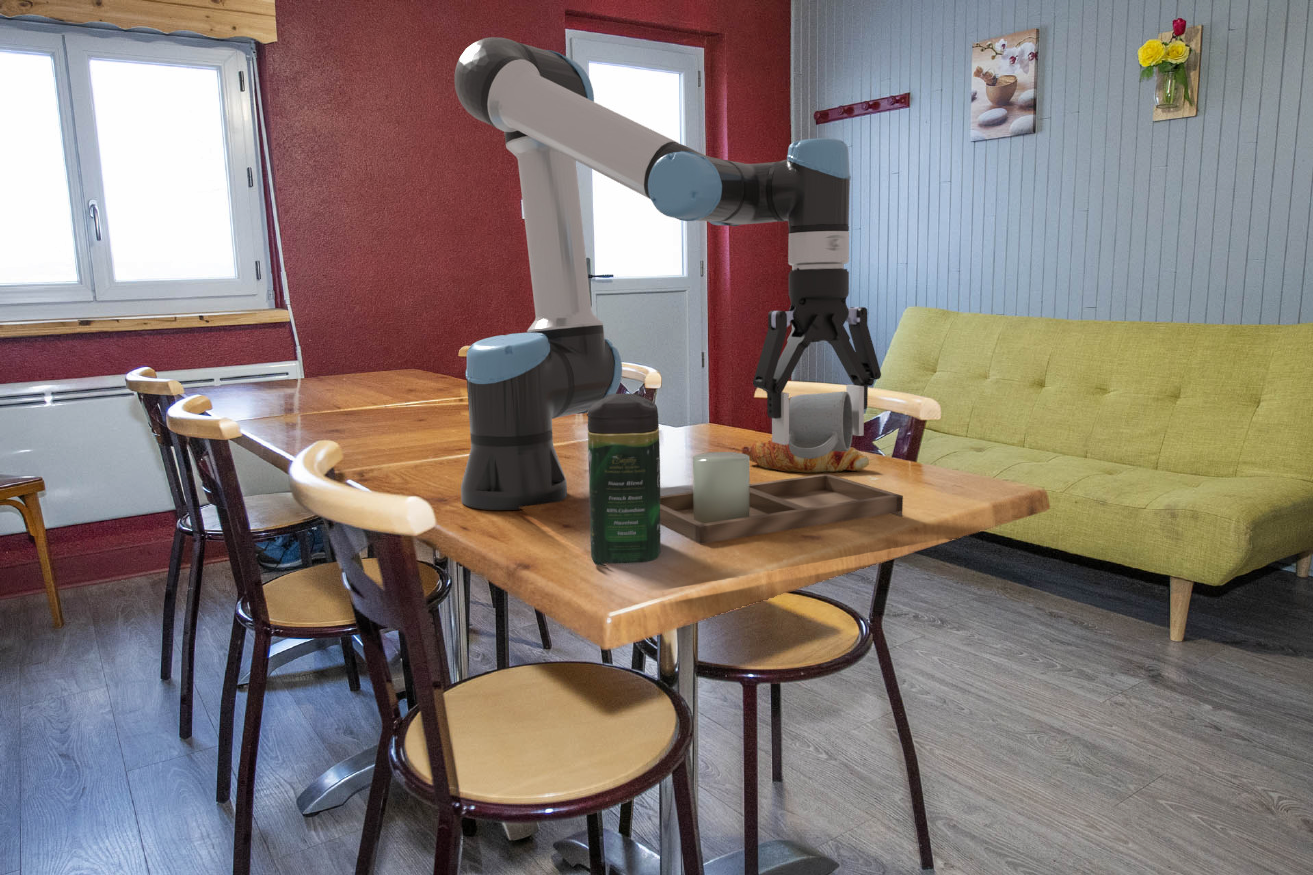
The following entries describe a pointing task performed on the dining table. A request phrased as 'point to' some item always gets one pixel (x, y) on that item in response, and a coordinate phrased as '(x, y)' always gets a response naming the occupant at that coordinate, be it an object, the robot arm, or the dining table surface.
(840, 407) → the ceramic mug
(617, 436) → the coffee jar
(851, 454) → the croissant
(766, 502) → the caddy
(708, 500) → the pale green pillar candle
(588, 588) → the dining table surface
